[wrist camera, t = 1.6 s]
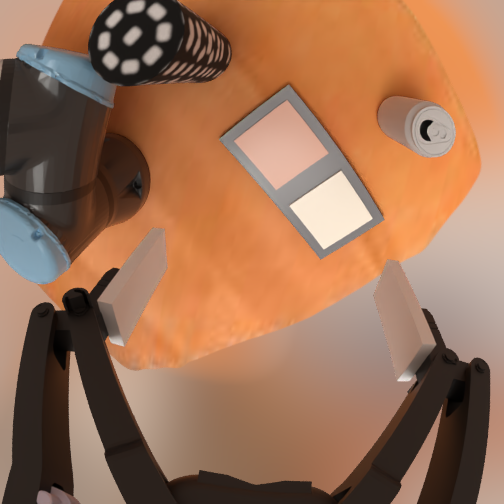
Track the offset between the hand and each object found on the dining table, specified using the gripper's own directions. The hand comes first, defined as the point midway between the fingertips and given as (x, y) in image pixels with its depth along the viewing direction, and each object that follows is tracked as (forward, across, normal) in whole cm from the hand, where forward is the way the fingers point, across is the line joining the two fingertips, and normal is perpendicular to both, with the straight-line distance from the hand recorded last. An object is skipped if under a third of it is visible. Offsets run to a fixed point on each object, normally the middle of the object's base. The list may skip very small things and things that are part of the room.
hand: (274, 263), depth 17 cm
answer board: (+27, +4, -3) cm, 27 cm away
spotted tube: (+27, -12, +14) cm, 33 cm away
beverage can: (+27, +15, +9) cm, 32 cm away
